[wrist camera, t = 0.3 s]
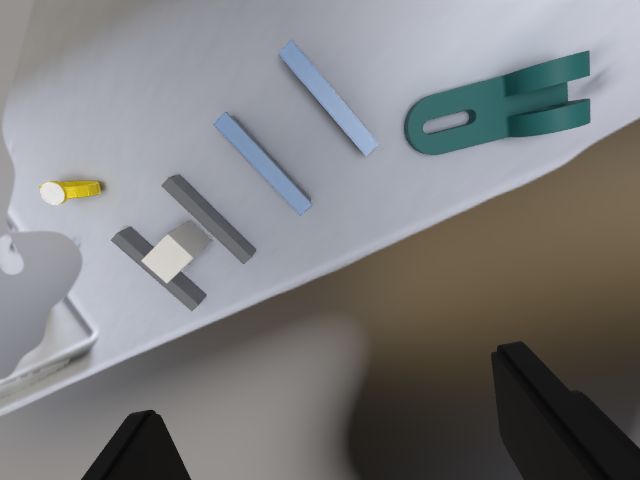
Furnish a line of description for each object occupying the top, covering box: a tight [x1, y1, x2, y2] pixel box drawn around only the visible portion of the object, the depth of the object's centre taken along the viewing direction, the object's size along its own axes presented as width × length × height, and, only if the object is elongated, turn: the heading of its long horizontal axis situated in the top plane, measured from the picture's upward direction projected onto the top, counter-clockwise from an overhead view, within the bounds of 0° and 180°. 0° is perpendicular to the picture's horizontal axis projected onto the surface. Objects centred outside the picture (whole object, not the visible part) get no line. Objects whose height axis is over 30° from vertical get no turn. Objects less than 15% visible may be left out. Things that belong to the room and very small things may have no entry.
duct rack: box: [111, 40, 379, 311], centre depth 42 cm, size 14×33×4 cm, turn 133°
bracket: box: [404, 51, 590, 155], centre depth 36 cm, size 18×7×8 cm, turn 104°
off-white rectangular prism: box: [141, 220, 213, 283], centre depth 43 cm, size 4×5×7 cm
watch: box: [40, 181, 101, 205], centre depth 41 cm, size 6×3×6 cm, turn 90°
